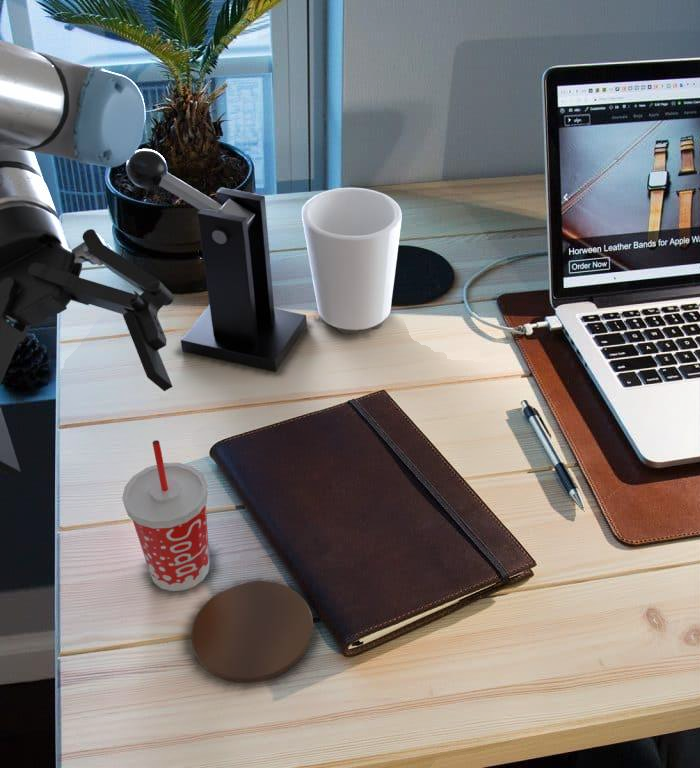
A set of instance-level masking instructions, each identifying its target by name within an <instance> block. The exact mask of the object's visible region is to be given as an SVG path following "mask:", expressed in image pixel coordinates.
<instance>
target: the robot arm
mask: <svg viewBox="0 0 700 768" xmlns="http://www.w3.org/2000/svg"><path fill="white" fill-rule="evenodd" d="M140 90H141V89H139V87H138V85H136V83H135V82H134V81H133V80H132V79H130V78H129V77H127V76H126V75H123V74H121V73H117V72H112V71H109V70H106V69H104V68H103V67H101V66H95V65H94V66H90V65H85V64H81V63H77V62H73V61H69V60H65V59H62V58H60V57H56V56H54V55H50V54H47V53H44V52H41V51H40V52H39V51H35V50H34V49H32V48H28V47H24V46H22V45H19V44H15V43H12V42H9V41H6V40H3V39H0V386H1V385H2V381H3V380H4V378H5V376H6V373H7V371H8V369H9V366H10V364H11V361H12V359H13V357H14V355H15V353H16V350H17V348H18V345H19V343H22V342H24V341H25V340H26V338H27V335H28V333H29V331H30V328H31V326H32V327H37V326H39V325H41V324H42V323H44V322H45V321H46V320H47V319H49V318H50V317H51V316H54V315H58V314H60V313H62V312H64V311H66V310H67V309H68V308H67V306H68V305H69V304H70V303H71V302H72V301H73V302H75V303H79V304H83V305H86V306H89V305H91V306H94V307H98V308H101V309H104V310H107V311H110V312H113V313H117V314H120V315H122V317H123V320H124V322H125V325H126V327H127V330H128V333H129V335H130V337H131V341H132V343H133V345H134V348H135V350H136V352H137V356H138V357H139V360H140V363H141V365H142V368H143V371H144V373H145V375H146V377H147V379H148V380H150V381H151V382H152V383H153V384H154V385H156V386H157V387H158V388H159V389H161V390H162V392H167V391H168V390H170V389H171V388H173V384H172V382H171V379H170V376H169V374H168V372H167V369H166V366H165V365H164V364H165V363H164V362H163V358H162V357H161V355H160V352H159V350H160V349H162V348H164V347H166V346H167V337H166V335H165V333H164V330H163V328H162V325H161V323H160V320H159V318H158V317H159V316H158V313H159V312H160V310H161V308H163V306H164V307H165V306H167V307H168V306H169V305H171V304H172V303H173V302H174V300H175V295H174V294H173V293H172V292H171V291H170V290H169V289H168V287H166V286H165V285H164V284H163V283H162V282H161V281H160V280H159V279H158V278H156V277H155V276H153V275H152V274H150V273H149V272H147V271H146V270H144V269H142V268H140V267H139V266H138V265H137V264H135V263H133V262H131V261H130V260H129V259H127V258H125V257H124V256H122V255H121V254H119V253H117V252H116V251H114V250H113V247H112V246H111V245H110V244H109V243H108V242H107V241H106V240H105V239H104V238H103V236H101V235H100V234H98V232H97V231H95V229H93V228H90V229H87V230H85V231H84V232H83V233H82V240H83V242H81V243H79V244H78V245H77V246H76V247H74V248H71V246H70V243H69V241H68V237H67V235H66V233H65V229H64V227H63V225H62V223H61V221H60V218H59V215H58V212H57V210H56V207H55V204H54V202H53V199H52V196H51V193H50V191H49V188H48V186H47V184H46V182H45V180H44V176H43V174H42V171H41V167H40V166H39V163H38V160H37V158H36V154H43V155H48V156H54V157H58V158H63V159H66V160H71V161H74V162H77V163H78V164H82V165H94V166H99V167H104V168H116V167H120V166H122V165H124V164H126V163H127V161H128V160H129V159H130V158H131V157H132V156H133V155H134V154H135V152H136V151H138V150H139V147H140V145H141V142H142V139H143V138H144V129H145V124H146V119H147V117H146V105H145V102H144V101H145V100H144V97H143V94H142V92H141V91H140ZM35 153H36V154H35ZM85 262H86V263H87V262H88V263H90V264H91V265H92V266H93V265H94V266H95V265H97V266H99V267H100V266H105V267H106V268H107V269H108V270H109V271H110V272H111V273H113V274H115V275H116V276H118V277H119V278H120V279H122V280H124V281H125V282H127V283H129V284H130V285H131V286H133V287H135V288H136V289H138V290H139V291H140V292H142V293H141V294H139V293H138V292H137V291H136V290H134V291H133V293H132V292H129V291H126V290H123V289H119V288H116V287H113V286H109V285H107V284H103V283H99V282H96V281H94V280H93V281H92V280H89V279H85V278H82V277H80V276H81V273H82V270H83V263H85ZM7 320H9V321H12V322H13V323H14V324H13V325H12V324H11V323H9V322H8V321H7ZM2 410H3V409H2V408H1V407H0V472H2V473H4V474H6V475H8V476H10V477H12V478H13V477H14V476H16V475H18V474H20V473H21V468H20V465H19V461H18V458H17V456H16V453H15V452H16V451H15V449H14V445H13V442H12V438H11V435H10V433H9V430H8V426H7V422H6V419H5V417H4V414H3V411H2Z"/></svg>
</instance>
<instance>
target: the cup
mask: <svg viewBox="0 0 700 768" xmlns="http://www.w3.org/2000/svg"><path fill="white" fill-rule="evenodd" d="M300 215H301V219H302V225H303V231H304V237H305V243H306V250H307V255H308V261H309V267H310V272H311V273H310V274H311V278H312V279H311V280H312V283H313V290H314V295H315V302H316V307H317V312H318V316H319V319H320V320H321V321H322V323H325V324H328V325H329V326H332V327H334V328H336V329H337V330H339V331H340V332H341V333H343V334H345V335H353V334H355V333H356V332H358V331H363V330H367V329H373V330H378V329H380V328H381V327H382V326H383V324H384V323H385V322H386V320H387V318H388V317H389V315H390V313H391V308H392V300H393V294H394V293H393V292H394V286H395V285H394V284H395V276H396V270H397V269H396V268H397V261H398V254H399V253H398V252H399V244H400V236H401V228H402V220H403V219H402V217H403V212H402V210H401V207H400V205H399V204H398V202H396V201H395V200H394V199H393V198H391V197H390V196H389V195H387V194H385V193H383V192H380V191H377V190H373V189H368V188H364V187H337V188H332V189H329V190H326V191H323V192H320V193H318V194H316V195H314V196H312V197H311V198H310V199H308V200H307V201H306V202H305V203H304V204H303V206H302V208H301V214H300Z"/></svg>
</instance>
